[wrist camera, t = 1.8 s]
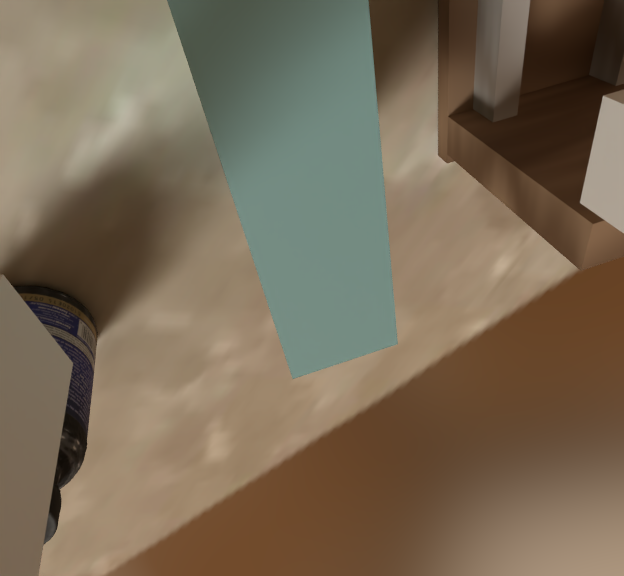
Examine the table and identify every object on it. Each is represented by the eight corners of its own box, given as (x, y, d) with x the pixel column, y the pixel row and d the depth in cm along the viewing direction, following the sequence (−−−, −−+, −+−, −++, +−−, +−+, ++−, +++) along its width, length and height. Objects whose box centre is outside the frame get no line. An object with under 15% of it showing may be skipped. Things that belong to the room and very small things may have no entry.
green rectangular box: (137, -112, 16) (128, -115, 7) (238, -136, 16) (353, -169, 7) (237, 196, 24) (292, 379, 15) (304, 176, 24) (397, 343, 15)
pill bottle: (-22, 267, 23) (-116, 481, 14) (113, 297, 26) (99, 489, 17) (-42, 357, 25) (-131, 579, 17) (81, 375, 28) (56, 571, 20)
